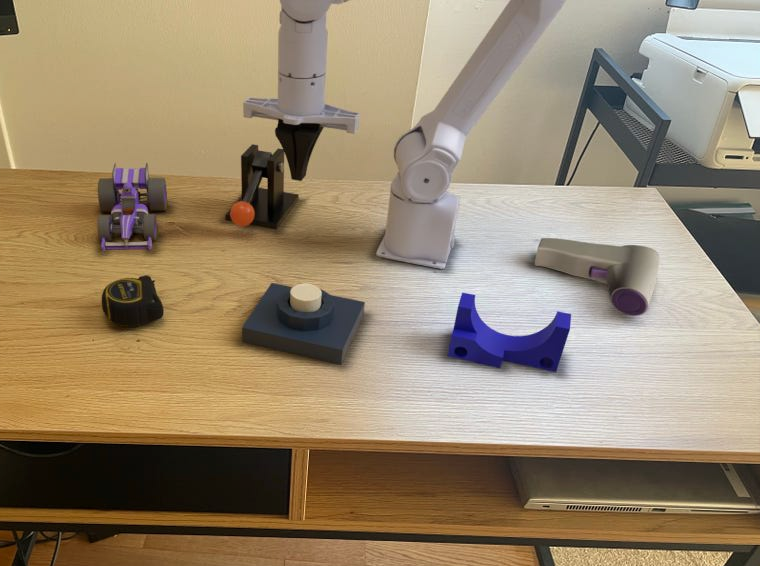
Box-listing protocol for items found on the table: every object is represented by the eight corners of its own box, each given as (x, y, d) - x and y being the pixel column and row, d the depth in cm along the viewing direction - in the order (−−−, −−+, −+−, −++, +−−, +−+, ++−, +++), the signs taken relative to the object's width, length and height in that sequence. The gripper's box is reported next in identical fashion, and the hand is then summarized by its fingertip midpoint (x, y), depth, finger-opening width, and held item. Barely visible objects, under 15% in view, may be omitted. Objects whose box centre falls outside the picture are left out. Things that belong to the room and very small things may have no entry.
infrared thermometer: (538, 257, 104) (654, 277, 99) (521, 301, 95) (647, 325, 90) (544, 227, 101) (663, 246, 96) (527, 270, 93) (657, 293, 87)
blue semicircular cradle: (447, 356, 85) (455, 313, 81) (453, 334, 88) (462, 292, 84) (555, 380, 82) (569, 337, 78) (557, 356, 85) (571, 314, 81)
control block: (363, 316, 91) (366, 289, 88) (341, 365, 83) (343, 337, 81) (271, 297, 93) (271, 270, 91) (242, 342, 86) (241, 314, 84)
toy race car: (91, 253, 101) (83, 210, 97) (104, 202, 112) (98, 162, 108) (161, 252, 101) (157, 209, 97) (167, 201, 113) (164, 161, 109)
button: (324, 299, 87) (325, 286, 86) (315, 315, 84) (316, 303, 83) (295, 293, 88) (296, 280, 87) (285, 309, 85) (286, 296, 84)
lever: (252, 233, 103) (247, 218, 100) (229, 228, 104) (224, 213, 101) (278, 166, 108) (275, 150, 105) (256, 163, 109) (253, 146, 106)
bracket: (276, 231, 106) (277, 171, 101) (225, 221, 108) (223, 161, 102) (298, 201, 114) (300, 143, 108) (250, 192, 116) (249, 135, 110)
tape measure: (166, 327, 88) (163, 301, 86) (108, 336, 86) (103, 310, 84) (156, 296, 93) (153, 270, 91) (101, 304, 91) (96, 279, 89)
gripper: (232, 73, 87) (235, 180, 95) (352, 89, 83) (343, 199, 92) (254, 56, 92) (255, 159, 101) (367, 70, 89) (358, 176, 97)
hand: (298, 177), depth 97 cm, fingers closed
